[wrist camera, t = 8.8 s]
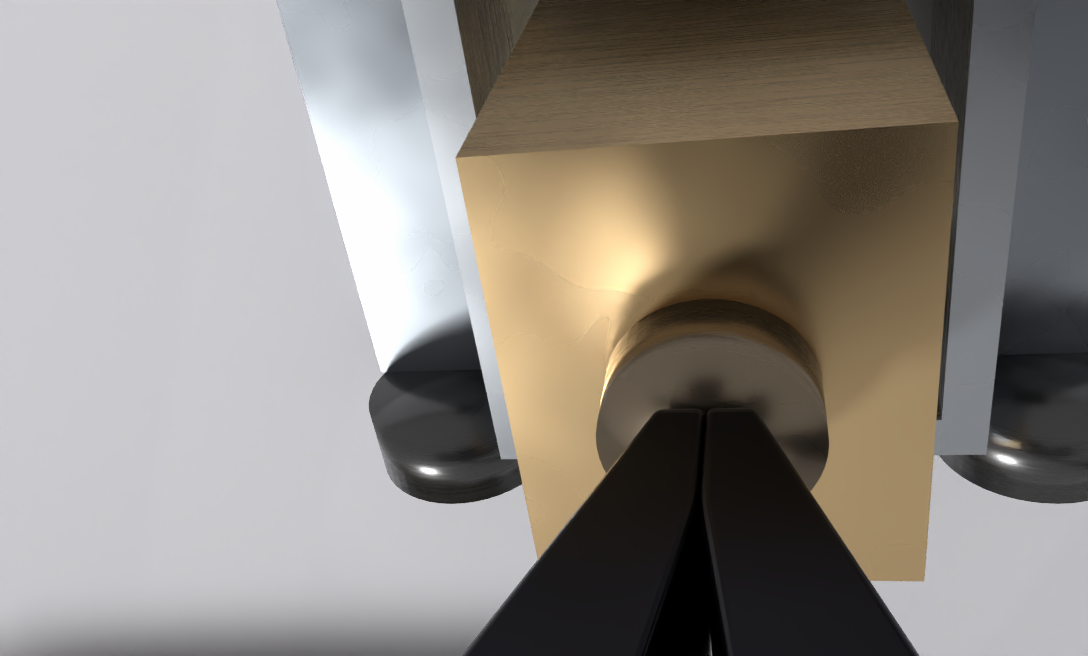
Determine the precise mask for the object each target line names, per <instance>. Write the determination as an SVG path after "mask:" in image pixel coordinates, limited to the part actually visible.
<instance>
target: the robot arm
mask: <svg viewBox="0 0 1088 656" xmlns="http://www.w3.org/2000/svg"><path fill="white" fill-rule="evenodd" d="M711 646H712V656H919V654H918V653H917V651H916V650H915V648H914V647H913V645H912V644H911V642H910V641H909V639H908V638H907V636H906V635H905V633H904V632H903V630H902V629H901V627H900V626H899V624H898V623H897V621H896V620H895V618H894V617H893V615H892V614H891V612H890V611H889V609H888V608H887V606H886V605H885V603H884V602H883V600H882V599H881V597H880V596H879V594H878V593H877V591H876V590H875V588H874V587H873V585H872V584H871V582H870V581H869V579H868V578H867V576H866V575H865V573H864V571H863V570H862V568H861V567H860V565H859V564H858V562H857V561H856V559H855V558H854V556H853V555H852V553H851V552H850V550H849V549H848V547H847V546H846V544H845V543H844V541H843V540H842V538H841V537H840V535H839V534H838V532H837V531H836V529H835V528H834V526H833V525H832V523H831V522H830V520H829V519H828V517H827V516H826V514H825V513H824V511H823V510H822V508H821V507H820V505H819V504H818V502H817V501H816V499H815V498H814V496H813V495H812V493H811V492H810V490H809V489H808V487H807V486H806V484H805V483H804V481H803V480H802V478H801V477H800V475H799V474H798V472H797V471H796V469H795V468H794V466H793V465H792V463H791V462H790V460H789V459H788V457H787V456H786V454H785V453H784V451H783V450H782V448H781V446H780V445H779V443H778V442H777V440H776V439H775V437H774V436H773V434H772V433H771V431H770V430H769V428H768V427H767V425H766V424H765V422H764V421H763V419H762V418H761V416H760V415H759V414H758V412H757V411H756V410H754V409H752V408H713V409H711V410H709V411H708V412H707V414H706V418H705V414H704V413H703V411H701V410H700V409H662V410H658V411H656V412H655V413H654V414H653V415H652V416H651V417H650V419H649V420H648V421H647V422H646V424H645V425H644V426H643V427H642V429H641V430H640V431H639V432H638V434H637V435H636V436H635V438H634V439H633V440H632V441H631V443H630V444H629V445H628V446H627V448H626V449H625V450H624V451H623V453H622V454H621V455H620V457H619V458H618V459H617V460H616V462H615V463H614V464H613V465H612V467H611V468H610V469H609V470H608V472H607V473H606V474H605V475H604V477H603V478H602V479H601V481H600V482H599V483H598V484H597V486H596V487H595V488H594V489H593V491H592V492H591V493H590V494H589V496H588V497H587V498H586V500H585V501H584V502H583V503H582V505H581V506H580V507H579V508H578V510H577V511H576V512H575V513H574V515H573V516H572V517H571V518H570V520H569V521H568V522H567V524H566V525H565V526H564V527H563V529H562V530H561V531H560V532H559V534H558V535H557V536H556V537H555V539H554V540H553V541H552V542H551V544H550V545H549V546H548V548H547V549H546V550H545V551H544V553H543V554H542V555H541V556H540V558H539V559H538V560H537V561H536V563H535V564H534V565H533V567H532V568H531V569H530V570H529V572H528V573H527V574H526V575H525V577H524V578H523V579H522V580H521V582H520V583H519V584H518V585H517V587H516V588H515V589H514V591H513V592H512V593H511V594H510V596H509V597H508V598H507V599H506V601H505V602H504V603H503V604H502V606H501V607H500V608H499V610H498V611H497V612H496V613H495V615H494V616H493V617H492V618H491V620H490V621H489V622H488V623H487V625H486V626H485V627H484V628H483V630H482V631H481V632H480V634H479V635H478V636H477V637H476V639H475V640H474V641H473V642H472V644H471V645H470V646H469V647H468V649H467V650H466V651H465V653H464V654H463V655H462V656H711Z"/></svg>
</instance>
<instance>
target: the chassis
mask: <svg viewBox="0 0 1088 656" xmlns="http://www.w3.org/2000/svg"><path fill="white" fill-rule="evenodd" d="M276 1H277V4H278V8H279V11H280V15H281V19H282V22H283V26H284V29H285V33H286V36H287V40H288V43H289V47H290V51H291V54H292V58H293V61H294V65H295V68H296V72H297V75H298V79H299V82H300V86H301V90H302V93H303V97H304V100H305V104H306V107H307V111H308V114H309V118H310V122H311V125H312V129H313V132H314V136H315V139H316V143H317V146H318V150H319V153H320V157H321V161H322V164H323V168H324V171H325V175H326V178H327V182H328V185H329V189H330V193H331V196H332V200H333V203H334V207H335V210H336V214H337V217H338V221H339V224H340V228H341V232H342V235H343V239H344V242H345V246H346V249H347V253H348V256H349V260H350V264H351V267H352V271H353V274H354V278H355V281H356V285H357V288H358V292H359V295H360V299H361V303H362V306H363V310H364V313H365V317H366V320H367V324H368V327H369V331H370V334H371V338H372V342H373V345H374V349H375V352H376V356H377V359H378V363H379V366H380V370H381V372H386V373H385V374H384V375H383V376H382V377H381V378H380V379H379V381H378V382H377V383H376V385H375V387H374V388H373V390H372V393H371V396H370V400H369V411H370V415H371V418H372V422H373V425H374V429H375V432H376V435H377V439H378V442H379V445H380V449H381V452H382V455H383V459H384V462H385V466H386V469H387V472H388V474H389V476H390V478H391V480H392V481H393V482H394V483H395V485H396V486H397V487H399V488H400V489H401V490H402V491H404V492H406V493H407V494H409V495H411V496H413V497H416V498H418V499H422V500H425V501H429V502H436V503H447V504H455V503H468V502H475V501H480V500H484V499H488V498H491V497H494V496H498V495H500V494H503V493H505V492H507V491H510V490H512V489H514V488H516V487H517V486H519V485H521V484H522V480H521V475H520V470H519V465H518V460H517V455H516V450H515V445H514V441H513V436H512V431H511V426H510V421H509V416H508V411H507V407H506V402H505V397H504V392H503V387H502V382H501V377H500V373H499V368H498V363H497V358H496V353H495V348H494V343H493V338H492V334H491V329H490V324H489V319H488V314H487V309H486V304H485V300H484V295H483V290H482V285H481V280H480V275H479V270H478V266H477V261H476V256H475V251H474V246H473V241H472V236H471V231H470V227H469V222H468V217H467V212H466V207H465V202H464V197H463V193H462V188H461V183H460V178H459V173H458V168H457V163H456V159H455V157H456V156H457V154H458V152H459V150H460V148H461V146H462V144H463V142H464V141H465V139H466V137H467V135H468V133H469V131H470V129H471V127H472V126H473V124H474V122H475V120H476V118H477V116H478V114H479V112H480V111H481V109H482V107H483V105H484V103H485V101H486V99H487V97H488V96H489V94H490V92H491V90H492V88H493V86H494V84H495V82H496V81H497V79H498V77H499V75H500V73H501V71H502V69H503V67H504V66H505V64H506V62H507V60H508V58H509V56H510V54H511V52H512V51H513V49H514V47H515V45H516V43H517V41H518V39H519V37H520V36H521V34H522V32H523V30H524V28H525V26H526V24H527V22H528V21H529V19H530V17H531V15H532V13H533V11H534V9H535V7H536V6H537V4H538V2H539V0H276ZM905 1H906V4H907V6H908V8H909V10H910V13H911V15H912V17H913V19H914V22H915V24H916V26H917V28H918V31H919V33H920V35H921V37H922V40H923V42H924V44H925V46H926V49H927V51H928V53H929V56H930V58H931V60H932V62H933V65H934V67H935V69H936V71H937V74H938V76H939V78H940V80H941V83H942V85H943V87H944V89H945V92H946V94H947V96H948V98H949V101H950V103H951V105H952V108H953V110H954V112H955V114H956V117H957V119H958V121H959V125H958V138H957V152H956V165H955V178H954V191H953V205H952V218H951V231H950V244H949V258H948V271H947V284H946V298H945V311H944V324H943V337H942V351H941V364H940V377H939V391H938V404H937V417H936V430H935V444H934V455H939V456H940V457H941V458H942V459H943V461H944V462H945V463H946V464H947V465H948V466H949V467H950V468H951V469H953V470H954V471H955V472H957V473H958V474H959V475H961V476H962V477H964V478H965V479H967V480H969V481H970V482H972V483H974V484H976V485H978V486H980V487H982V488H984V489H986V490H989V491H992V492H994V493H997V494H1000V495H1004V496H1007V497H1011V498H1015V499H1020V500H1024V501H1031V502H1039V503H1056V504H1059V503H1076V502H1083V501H1088V0H905Z"/></svg>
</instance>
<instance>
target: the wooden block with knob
mask: <svg viewBox="0 0 1088 656" xmlns="http://www.w3.org/2000/svg"><path fill="white" fill-rule="evenodd" d="M958 125H959V121H958V119H957V117H956V114H955V112H954V110H953V108H952V105H951V103H950V101H949V98H948V96H947V94H946V92H945V89H944V87H943V85H942V83H941V80H940V78H939V76H938V74H937V71H936V69H935V67H934V65H933V62H932V60H931V58H930V56H929V53H928V51H927V49H926V46H925V44H924V42H923V40H922V37H921V35H920V33H919V31H918V28H917V26H916V24H915V22H914V19H913V17H912V15H911V13H910V10H909V8H908V6H907V4H906V1H905V0H539V2H538V4H537V6H536V7H535V9H534V11H533V13H532V15H531V17H530V19H529V21H528V22H527V24H526V26H525V28H524V30H523V32H522V34H521V36H520V37H519V39H518V41H517V43H516V45H515V47H514V49H513V51H512V52H511V54H510V56H509V58H508V60H507V62H506V64H505V66H504V67H503V69H502V71H501V73H500V75H499V77H498V79H497V81H496V82H495V84H494V86H493V88H492V90H491V92H490V94H489V96H488V97H487V99H486V101H485V103H484V105H483V107H482V109H481V111H480V112H479V114H478V116H477V118H476V120H475V122H474V124H473V126H472V127H471V129H470V131H469V133H468V135H467V137H466V139H465V141H464V142H463V144H462V146H461V148H460V150H459V152H458V154H457V156H456V157H455V159H456V163H457V168H458V173H459V178H460V183H461V188H462V193H463V197H464V202H465V207H466V212H467V217H468V222H469V227H470V231H471V236H472V241H473V246H474V251H475V256H476V261H477V266H478V270H479V275H480V280H481V285H482V290H483V295H484V300H485V304H486V309H487V314H488V319H489V324H490V329H491V334H492V338H493V343H494V348H495V353H496V358H497V363H498V368H499V373H500V377H501V382H502V387H503V392H504V397H505V402H506V407H507V411H508V416H509V421H510V426H511V431H512V436H513V441H514V445H515V450H516V455H517V460H518V465H519V470H520V475H521V480H522V484H523V489H524V494H525V499H526V504H527V509H528V514H529V518H530V523H531V528H532V533H533V538H534V543H535V548H536V552H537V557H538V559H539V558H540V556H541V555H542V554H543V553H544V551H545V550H546V549H547V548H548V546H549V545H550V544H551V542H552V541H553V540H554V539H555V537H556V536H557V535H558V534H559V532H560V531H561V530H562V529H563V527H564V526H565V525H566V524H567V522H568V521H569V520H570V518H571V517H572V516H573V515H574V513H575V512H576V511H577V510H578V508H579V507H580V506H581V505H582V503H583V502H584V501H585V500H586V498H587V497H588V496H589V494H590V493H591V492H592V491H593V489H594V488H595V487H596V486H597V484H598V483H599V482H600V481H601V479H602V478H603V477H604V475H605V474H606V473H607V472H608V470H609V469H610V468H611V467H612V465H613V464H614V463H615V462H616V460H617V459H618V458H619V457H620V455H621V454H622V453H623V451H624V450H625V449H626V448H627V446H628V445H629V444H630V443H631V441H632V440H633V439H634V438H635V436H636V435H637V434H638V432H639V431H640V430H641V429H642V427H643V426H644V425H645V424H646V422H647V421H648V420H649V419H650V417H651V416H652V415H653V414H654V413H655V412H656V411H658V410H662V409H700V410H701V411H703V413H704V414H705V418H706V414H707V412H708V411H709V410H711V409H713V408H752V409H754V410H756V411H757V412H758V414H759V415H760V416H761V418H762V419H763V421H764V422H765V424H766V425H767V427H768V428H769V430H770V431H771V433H772V434H773V436H774V437H775V439H776V440H777V442H778V443H779V445H780V446H781V448H782V450H783V451H784V453H785V454H786V456H787V457H788V459H789V460H790V462H791V463H792V465H793V466H794V468H795V469H796V471H797V472H798V474H799V475H800V477H801V478H802V480H803V481H804V483H805V484H806V486H807V487H808V489H809V490H810V492H811V493H812V495H813V496H814V498H815V499H816V501H817V502H818V504H819V505H820V507H821V508H822V510H823V511H824V513H825V514H826V516H827V517H828V519H829V520H830V522H831V523H832V525H833V526H834V528H835V529H836V531H837V532H838V534H839V535H840V537H841V538H842V540H843V541H844V543H845V544H846V546H847V547H848V549H849V550H850V552H851V553H852V555H853V556H854V558H855V559H856V561H857V562H858V564H859V565H860V567H861V568H862V570H863V571H864V573H865V575H866V576H867V578H868V579H869V581H924V576H925V563H926V550H927V537H928V523H929V510H930V497H931V483H932V470H933V457H934V444H935V430H936V417H937V404H938V391H939V377H940V364H941V351H942V337H943V324H944V311H945V298H946V284H947V271H948V258H949V244H950V231H951V218H952V205H953V191H954V178H955V165H956V152H957V138H958Z"/></svg>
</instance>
